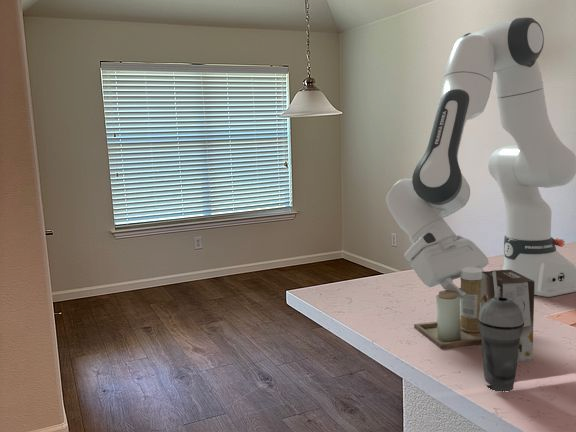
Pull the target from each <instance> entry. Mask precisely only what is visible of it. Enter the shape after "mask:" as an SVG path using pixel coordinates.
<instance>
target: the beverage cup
mask: <svg viewBox="0 0 576 432" xmlns="http://www.w3.org/2000/svg"><path fill="white" fill-rule="evenodd" d="M493 271H494V272H493V282H494V291H495V298H492V299H489V300H488V301H487V302H485V303H484V304H483V306H482V307H481V310H480V313H479V317H478V322H479V329H480V332H481V341H482V345H481V353H482V364H483V376H484V381H485V382H486V383H488V385H486V386H487V387H488V389H489V388H490V389H489V390H491V389H492V390H491V391H493V390H495V391H494V392H497V391H502V392H501V393H506V392H505V391H509V392H511V391H510V390H512V389H513V390H514V385H515V381H516V374H517V366H518V362H517V359H518V351H519V343H520V337H521V335H522V331H523V326H524V321H523V315H522V312H521V310H520V308H519V307H518V306H517V304H515V303H514V302H513V301H512V300H510V299H508V298H505V297H498V289H497V280H496V272H495V270H493ZM487 387H486V388H487ZM513 390H512V391H513ZM503 391H504V392H503Z"/></svg>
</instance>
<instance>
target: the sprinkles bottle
mask: <svg viewBox="0 0 576 432" xmlns="http://www.w3.org/2000/svg"><path fill="white" fill-rule="evenodd" d="M483 270H484V269H483ZM483 270H482V269H480V268H476V267H466V268H463V269H461V273H460V288H462V289H463V291H464V292H465V294H466V295H465V296H464V297H463V298H461V299H460V319H461V330H463V331H465V332H469V333H476V332H480V329H479V322H478V317H479V313H480V310H481V301H482V299H481V298H482V272H483Z"/></svg>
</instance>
